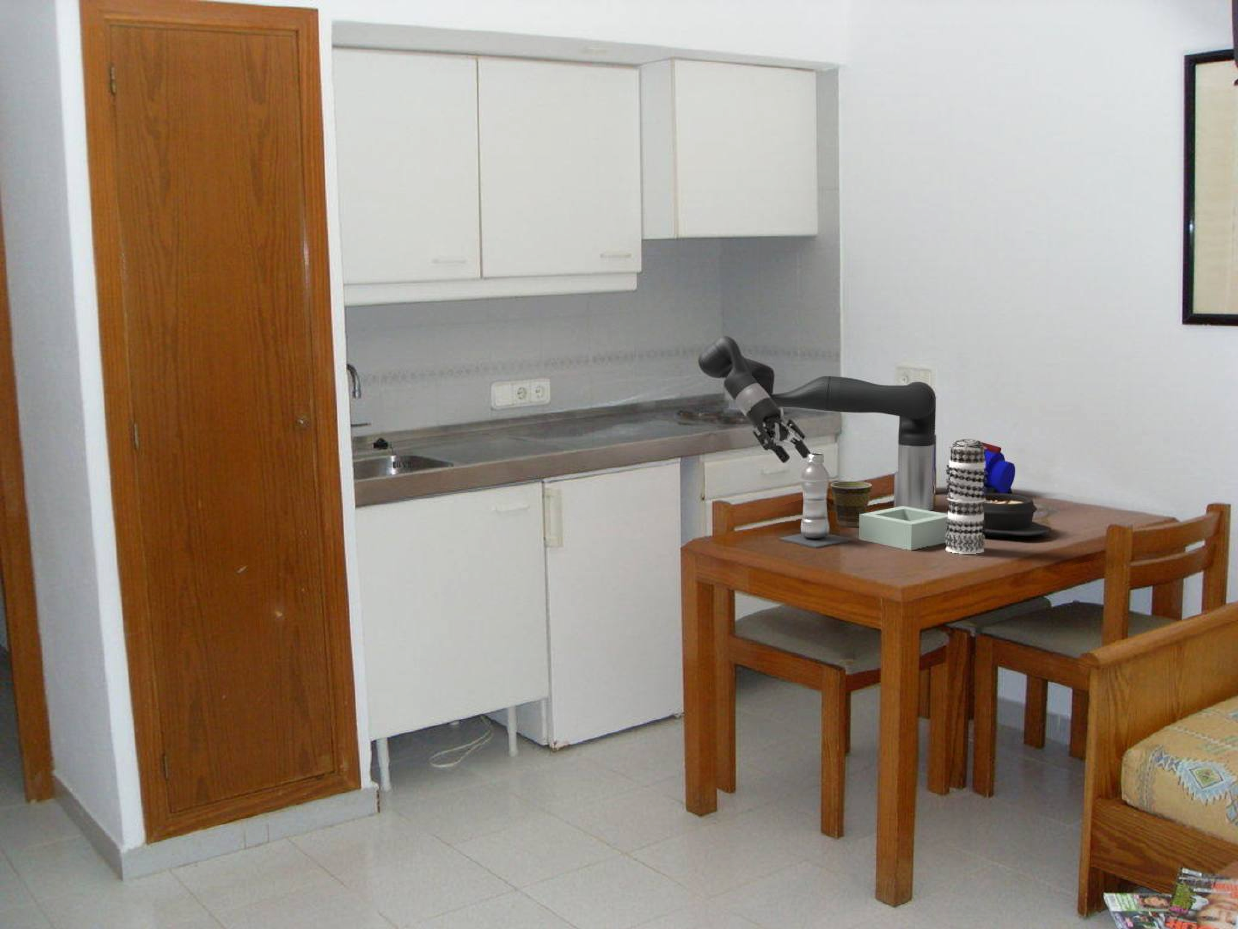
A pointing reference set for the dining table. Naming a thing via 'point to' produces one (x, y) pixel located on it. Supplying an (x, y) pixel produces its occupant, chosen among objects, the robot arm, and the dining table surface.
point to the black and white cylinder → (966, 497)
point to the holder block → (903, 527)
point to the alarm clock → (997, 471)
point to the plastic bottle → (815, 498)
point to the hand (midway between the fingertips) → (797, 458)
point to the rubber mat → (815, 540)
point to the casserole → (1010, 516)
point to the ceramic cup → (850, 501)
